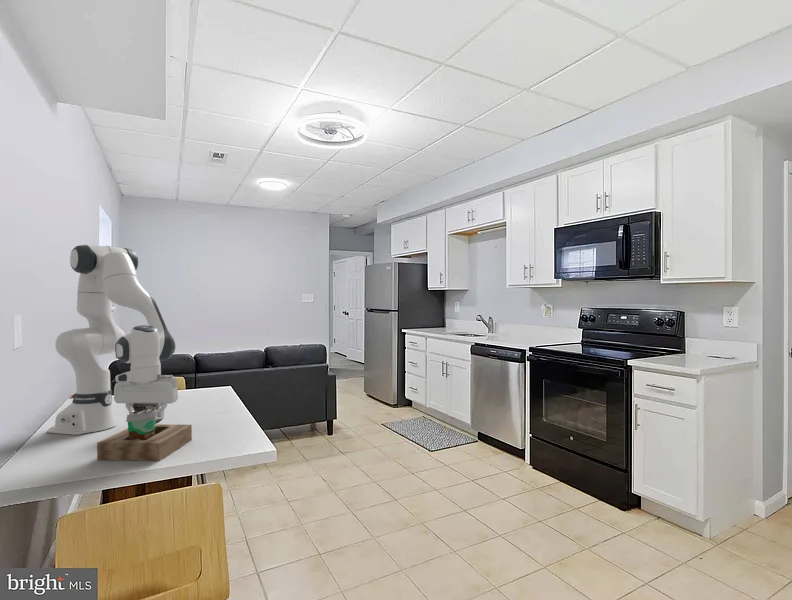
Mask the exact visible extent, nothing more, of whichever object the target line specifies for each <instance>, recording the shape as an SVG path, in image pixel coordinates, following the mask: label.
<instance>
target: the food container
mask: <svg viewBox="0 0 792 600" xmlns="http://www.w3.org/2000/svg"><path fill="white" fill-rule="evenodd" d="M156 416H157V410H156V408H155V407H151V406H146V409H145V410H143V411H139V412H137V413H135V414H134V415H129V414H126V423H127V429H128V432H129V440H147V439H149V438H151V437H153V436H154V435H155V417H156Z"/></svg>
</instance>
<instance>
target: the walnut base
mask: <svg viewBox="0 0 792 600" xmlns="http://www.w3.org/2000/svg"><path fill="white" fill-rule="evenodd" d="M192 432H193V431H192V424H160V423H157V424H155V435H154V436H153V437H151V438H149V439H147V440H129V432H128V428H126V429H124V430H122V431H120V432H117V433H115V434H112V435H110V436H109V437H106V438H103V439H102V440H99V441H98V442H96V452H97V459H96V460H97V461H127V460H137V461H138V460H139V461H141V462H142V460H143V462H150V461H152V462H159V461H161V459H162V460H163V459H165V458H166V457H168V456H170V455H171V454H172V452H173V451H174V452H176V451H177V450H179V449H180V448H182V447H184V446H185V445H186V443H187V444H188V443H190V442H191V441H192V438H193V437H192V436H193V434H192ZM189 441H190V442H189ZM181 446H182V447H181ZM178 448H179V449H178ZM175 450H176V451H175ZM174 452H173V453H174ZM167 455H168V456H167ZM164 457H165V458H164ZM144 460H145V461H144ZM139 461H138V462H139Z"/></svg>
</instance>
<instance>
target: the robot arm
mask: <svg viewBox="0 0 792 600" xmlns="http://www.w3.org/2000/svg"><path fill="white" fill-rule="evenodd" d="M69 264H70V266H71V268H72V270H73V272H76V273H78V274H79V277H78V282H77V295H76V296H77V299H76V312H77V313H78V314H79V315H80V316H81V317H83V318H86V320H87V322H88V327H85V328H84V327H83V328H74V329H71V330H67V331H64V332H61V333H60V334H59V335H58V336H57V337H56V339H55V344H54V345H55V350H56V352H57V353H58V354H59V355H60V356H61V357H62V358H64V359H65V360H67V361H68V362H69V364H70V365H71V367H72V369H73V370H74V374H75V387H76V392H75V393H73V394H71V395H70V397H69V400H71V399H72V401H71V403H70V404H69V405H67V406H66V407H65V408H64V409H62V410H60V412H59V413H58V414H57V415H56V416H55V420H54V421H55V422H54V426H53V425H52V426H51V427H49V428H48V429H47V433H49V434H50V433H51V434H60V435H61V434H62V435H74V436H77V435H84V434H89V433H95V432H100V431H104V430H105V431H106V430H110V429H111V428H113V427H115V426H116V425H117V423H116V419H115V416H114V413H113V406H112V402H113V401H114V402H115V403H116V404H125V408H126V409H127V411H128V415H134V414H135V413H137V410H134V408H133V406H132V405H134V403H160V408H161V409H160V411H157V417H162V416H164V417H165V410H166V408H167V407H168V404H173V403H176V402H177V401H178V399H179V392H178V385H177V384H178V382H177V381H178V380H177V378H176V377H175V376H173V374H162V368H161V367H162V365H161V364H162V363H161V362H163V361H164V362H166V361H167V360H169V359H170V358H171V357H172V356H173V355H174V353H175V351H176V341H175V339H174V337H173V336H172V335H171V332H170V331H169V330H168V327H167V325H166V323H165V320H164V318H163V315H162V313H161V311H160V309H159V307H158V304H157V302H156V300H155V298H154V297H153V295H152V294H151V293H149V292H148V291H146V290H145V288H143V286H142V284H141V282H140V280H139V277H138V273H137V269H138V267H139V258H138V254H137V253H136V251H134V250H133V249H130V248H126V247H123V248H122V247H118V246H111V245H88V244H82V245H81V244H80V245H76V246H74V248H72V250H71V252H70V256H69ZM112 303H114V304H115V305H118V306H121V307H123V308H124V307H125V308H129V309H132V310H134V311H137V312H139V313H140V314H142V315H143V316H144V317H145V320H146V322H147V324H148V325H143V324H141V325H136V326H133V327H132V328H131V331H130V333H128V334H127V335H126V333H125V332H124V330H123V328H120V327H119V326H118V324H117V323H116V321H115V319H114V317H113V313H112V312H113V311H112ZM113 353H115V357H116V359H117V360H118V361H120V362H121V363H124V364H130V370H128V371H127V370H126V371H125V372H121V373H120V374H116V376H115V379H114V380H115V382H116V383H115V385H114V389H113V391H112V389H111V371H110V369H109V368H108V367H107V366H105V365H102V364H101V363H100V362H99V358H98V356H101V355H108V354H109V355H110V354H113Z"/></svg>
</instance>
